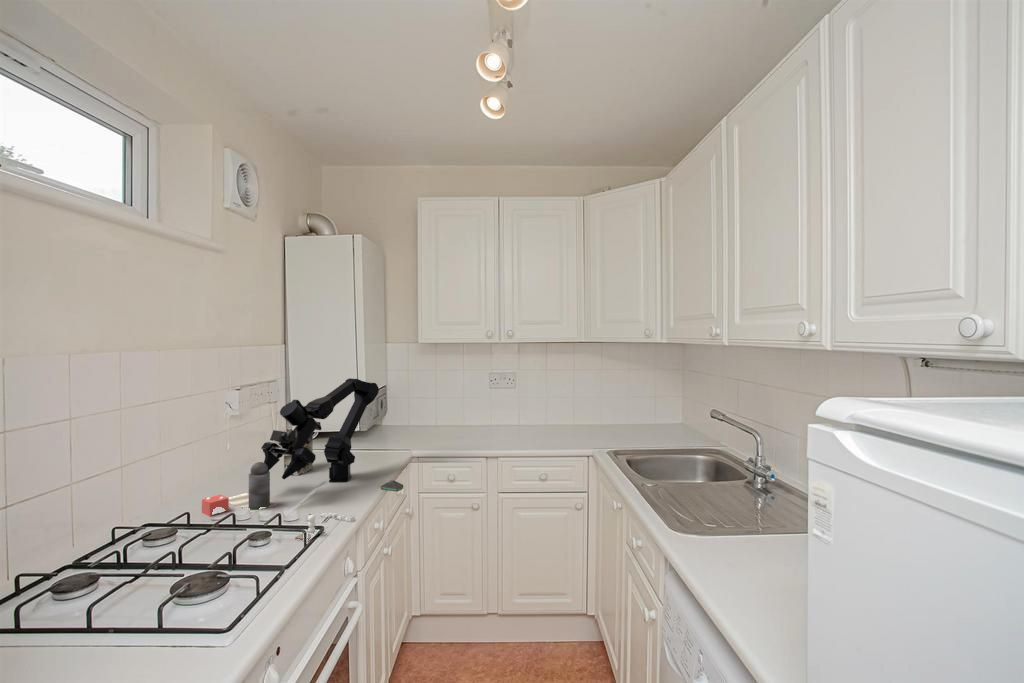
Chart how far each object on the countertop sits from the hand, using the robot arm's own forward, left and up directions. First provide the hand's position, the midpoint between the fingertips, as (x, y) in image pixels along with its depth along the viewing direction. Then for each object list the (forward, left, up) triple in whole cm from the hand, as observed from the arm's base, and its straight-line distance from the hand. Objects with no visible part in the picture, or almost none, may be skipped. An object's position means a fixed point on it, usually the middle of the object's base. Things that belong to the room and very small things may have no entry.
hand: (272, 476), depth 143 cm
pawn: (+2, +4, -8) cm, 9 cm away
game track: (+7, 0, -9) cm, 11 cm away
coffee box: (+6, -35, -9) cm, 37 cm away
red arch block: (+13, +8, -9) cm, 17 cm away
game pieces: (-25, +3, -10) cm, 27 cm away
